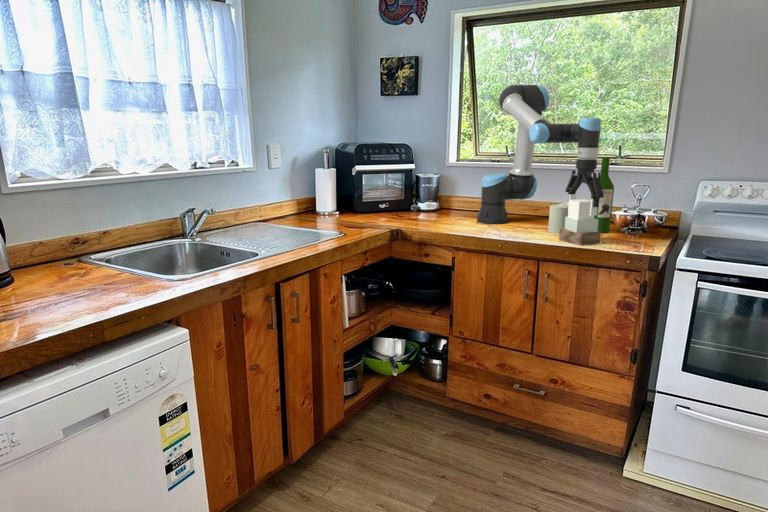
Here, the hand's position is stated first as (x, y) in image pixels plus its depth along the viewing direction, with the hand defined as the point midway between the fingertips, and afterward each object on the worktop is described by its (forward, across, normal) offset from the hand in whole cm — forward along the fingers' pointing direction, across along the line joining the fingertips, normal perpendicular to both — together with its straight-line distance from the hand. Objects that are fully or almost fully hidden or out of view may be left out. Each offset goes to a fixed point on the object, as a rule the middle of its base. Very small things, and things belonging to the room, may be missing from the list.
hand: (581, 212), depth 197 cm
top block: (+7, 0, 0) cm, 7 cm away
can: (+12, -20, +4) cm, 24 cm away
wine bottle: (+12, -15, +21) cm, 28 cm away
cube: (+2, 0, 0) cm, 2 cm away
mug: (+12, -32, +18) cm, 39 cm away
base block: (+12, 0, 0) cm, 12 cm away
